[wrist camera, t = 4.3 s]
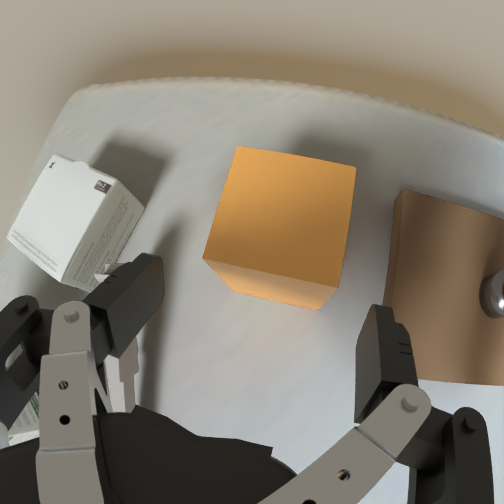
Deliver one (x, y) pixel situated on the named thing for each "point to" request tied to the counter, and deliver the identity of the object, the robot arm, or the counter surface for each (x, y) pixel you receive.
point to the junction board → (446, 288)
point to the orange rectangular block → (282, 227)
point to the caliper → (121, 366)
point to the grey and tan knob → (492, 295)
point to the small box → (75, 222)
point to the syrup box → (26, 423)
